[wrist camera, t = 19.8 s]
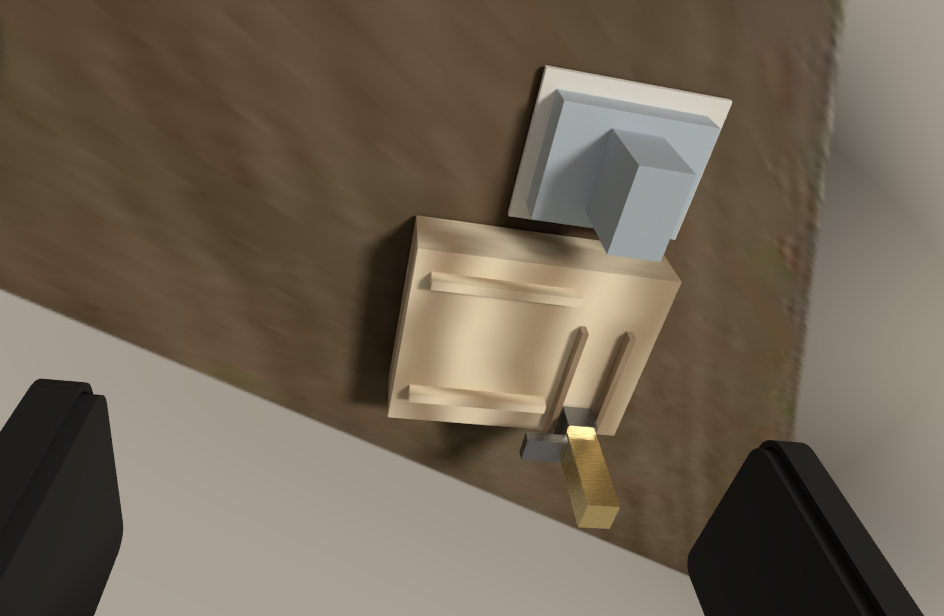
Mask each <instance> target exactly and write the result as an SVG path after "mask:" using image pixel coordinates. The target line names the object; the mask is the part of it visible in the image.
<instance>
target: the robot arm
mask: <svg viewBox="0 0 944 616" xmlns="http://www.w3.org/2000/svg"><path fill="white" fill-rule="evenodd" d="M122 535H123V520H122V513H121V505H120V497H119V490H118V483H117V475H116V468H115V461H114V453H113V446H112V438H111V430H110V423H109V415H108V408H107V401H106V398H105V397H104V395H94V394H93V392H92V388H91V386H90V384H89V383H85V382H74V381H63V380H50V379H38V380H36V381H35V382H34V383H33V384H32V385H31V386H30V388H29V389H28V391H27V392H26V394H25V395H24V397H23V398H22V400H21V401H20V403H19V404H18V406H17V407H16V409H15V410H14V412H13V413H12V415H11V417H10V418H9V419H8V421H7V422H6V424H5V425H4V427H3V428H2V430H1V431H0V616H94V614H95V612H96V609H97V606H98V604H99V601H100V599H101V596H102V594H103V591H104V588H105V586H106V583H107V580H108V578H109V575H110V573H111V570H112V568H113V565H114V562H115V560H116V557H117V555H118V552H119V549H120V545H121V541H122ZM687 566H688V573H689V576H690V579H691V581H692V584H693V587H694V589H695V592H696V594H697V597H698V599H699V602H700V605H701V607H702V610H703V612H704V615H705V616H924V615H923V614H922V612H921V611H920V609H919V608H918V606H917V605H916V603H915V602H914V600H913V599H912V597H911V596H910V594H909V593H908V591H907V590H906V588H905V587H904V585H903V584H902V582H901V581H900V579H899V578H898V576H897V575H896V573H895V572H894V570H893V569H892V568H891V566H890V564H889V563H888V561H887V560H886V559H885V557H884V555H883V554H882V553H881V551H880V550H879V548H878V547H877V545H876V544H875V542H874V541H873V539H872V538H871V536H870V535H869V533H868V532H867V530H866V529H865V527H864V526H863V524H862V523H861V521H860V520H859V518H858V517H857V515H856V514H855V512H854V511H853V509H852V508H851V506H850V505H849V503H848V502H847V500H846V499H845V497H844V496H843V494H842V493H841V491H840V490H839V488H838V487H837V485H836V484H835V483H834V481H833V479H832V478H831V477H830V475H829V474H828V472H827V471H826V469H825V468H824V466H823V465H822V463H821V462H820V460H819V459H818V457H817V456H816V454H815V453H814V452H813V450H812V449H811V448H810V447H809V446H808V445H806V444H804V443H798V442H787V441H775V440H767V441H765V442H763V443H762V444H761V445H760V446H759V447H758V449H757V448H756V449H754V450H752V451H751V452H750V454H749V455H748V457H747V458H746V460H745V462H744V463H743V465H742V467H741V468H740V470H739V472H738V473H737V475H736V477H735V478H734V480H733V481H732V483H731V485H730V486H729V488H728V490H727V491H726V493H725V495H724V496H723V498H722V500H721V501H720V503H719V505H718V506H717V508H716V509H715V511H714V513H713V514H712V516H711V518H710V519H709V521H708V523H707V524H706V526H705V528H704V529H703V531H702V533H701V534H700V536H699V537H698V539H697V541H696V542H695V544H694V546H693V547H692V549H691V551H690V553H689V555H688V565H687Z"/></svg>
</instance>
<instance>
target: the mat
mask: <svg viewBox="0 0 944 616" xmlns="http://www.w3.org/2000/svg"><path fill="white" fill-rule="evenodd" d="M557 89H561V90H567V91H572V92H578V93H583V94H589V95H594V96H600V97H605V98H611V99H616V100H622V101H627V102H633V103H638V104H644V105H649V106H655V107H660V108H666V109H671V110H677V111H682V112H688V113H693V114H699V115H704V116H708V117H709V118H710V119H711V120H712V121H713V122H714V123H715V124H716V125H717V126H719V127H720V128H722V126H723V123H724V121H725V119H726V116H727V114H728V111H729V109H730V107H731V104H732V101H731V100H730V99H725V98H719V97H714V96H709V95H703V94H698V93H692V92H687V91H682V90H676V89H671V88H666V87H660V86H655V85H649V84H644V83H639V82H633V81H628V80H623V79H617V78H612V77H606V76H601V75H596V74H590V73H585V72H580V71H574V70H569V69H563V68H558V67H553V66H547V65H545V69H544V72H543V76H542V80H541V84H540V88H539V92H538V96H537V100H536V104H535V108H534V112H533V116H532V120H531V124H530V128H529V131H528V135H527V139H526V143H525V147H524V151H523V155H522V159H521V163H520V167H519V171H518V175H517V179H516V183H515V187H514V191H513V194H512V198H511V202H510V206H509V210H508V216H511V217H518V218H525V219H531V217H530V214H529V211H528V208H527V205H526V202H527V198H528V194H529V191H530V187H531V183H532V180H533V176H534V172H535V168H536V165H537V161H538V157H539V154H540V150H541V146H542V143H543V139H544V135H545V131H546V128H547V124H548V120H549V117H550V113H551V109H552V106H553V102H554V98H555V95H556V91H557ZM720 131H721V129H720ZM719 133H720V132H719ZM718 135H719V134H718ZM717 138H718V136H717ZM716 140H717V139H716ZM715 143H716V141H715ZM714 145H715V144H714ZM713 147H714V146H713ZM712 150H713V148H712ZM711 152H712V151H711ZM710 155H711V153H710ZM709 157H710V156H709ZM708 159H709V158H708ZM707 162H708V160H707ZM706 164H707V163H706ZM705 167H706V165H705ZM704 169H705V168H704ZM703 171H704V170H703ZM702 174H703V172H702ZM701 176H702V175H701ZM700 179H701V177H700ZM700 179H699V181H700ZM698 183H699V182H698ZM697 186H698V184H697ZM696 188H697V187H696ZM695 191H696V189H695ZM695 191H694V193H695ZM693 195H694V194H693ZM692 198H693V196H692ZM691 200H692V199H691ZM690 203H691V201H690ZM690 203H689V205H690ZM688 207H689V206H688ZM687 210H688V208H687ZM686 212H687V211H686ZM685 215H686V213H685ZM685 215H684V217H685ZM683 219H684V218H683ZM532 220H535V219H532ZM539 221H541V220H539ZM546 222H548V221H546ZM682 222H683V220H682ZM553 223H555V222H553ZM560 224H562V223H560ZM681 224H682V223H681ZM567 225H569V224H567ZM574 226H576V225H574ZM581 227H583V226H581ZM680 227H681V225H680ZM680 227H679V229H680ZM589 228H590V227H589ZM678 231H679V230H678ZM677 234H678V232H677ZM677 234H676V236H677ZM675 239H676V237H675ZM675 239H673V240H675Z"/></svg>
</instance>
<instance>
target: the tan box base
mask: <svg viewBox="0 0 944 616" xmlns="http://www.w3.org/2000/svg"><path fill="white" fill-rule="evenodd" d="M680 284H681V281H680V279H679V278H678V276H677V275H676V273H675V272H674V270H673V268H672V267H671V265H670V264H669V262H668V260H667V259H666V257H665V256H664V255H663V257H662V260H661V262H656V261H649V260H641V259H634V258H627V257H619V256H612V255H607V254H606V252H605V250H604V248H603V246H602V244H601V242H600V241H598V240H591V239H584V238H577V237H569V236H562V235H555V234H548V233H540V232H533V231H526V230H519V229H511V228H504V227H497V226H490V225H482V224H475V223H468V222H461V221H453V220H446V219H439V218H432V217H424V216H417V215H416V220H415V226H414V232H413V238H412V244H411V250H410V255H409V261H408V267H407V273H406V279H405V285H404V290H403V296H402V302H401V308H400V314H399V320H398V326H397V331H396V337H395V343H394V349H393V355H392V361H391V366H390V372H389V384H388V417H394V418H406V419H418V420H431V421H443V422H455V423H467V424H480V425H492V426H504V427H516V428H529V429H541V430H543V432H544V434H552V433H553V431H555V428H556V425H557V423H558V420H559V417H560V415H561V412H562V409H563V406H564V407H575V408H586V409H592V412H593V415H594V418H595V421H596V424H597V427H598V429H597V431H596V434H602V435H614V434H615V432H616V430H617V428H618V425H619V423H620V421H621V418H622V416H623V414H624V412H625V409H626V407H627V405H628V402H629V400H630V398H631V396H632V393H633V391H634V389H635V387H636V384H637V382H638V380H639V377H640V375H641V373H642V371H643V368H644V366H645V364H646V362H647V359H648V357H649V355H650V352H651V350H652V348H653V346H654V343H655V341H656V339H657V337H658V334H659V332H660V330H661V327H662V325H663V323H664V321H665V318H666V316H667V314H668V312H669V309H670V307H671V305H672V302H673V300H674V298H675V296H676V293H677V291H678V289H679V287H680Z"/></svg>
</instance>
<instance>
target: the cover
mask: <svg viewBox="0 0 944 616" xmlns="http://www.w3.org/2000/svg"><path fill="white" fill-rule="evenodd" d="M720 129H721V128H720V127H719V126H717V125H716V124H715V123H714V122H713V121H712V120H711V119H710V118H709V117H708V116H704V115H699V114H693V113H688V112H682V111H677V110H671V109H666V108H660V107H655V106H649V105H644V104H638V103H633V102H627V101H622V100H616V99H611V98H605V97H600V96H594V95H589V94H583V93H578V92H572V91H567V90H561V89H557V91H556V95H555V98H554V102H553V106H552V109H551V113H550V117H549V120H548V124H547V128H546V131H545V135H544V139H543V143H542V146H541V150H540V154H539V157H538V161H537V165H536V168H535V172H534V176H533V180H532V183H531V187H530V191H529V194H528V198H527V202H526V205H527V208H528V211H529V214H530V217H531V219H535V220H541V221H548V222H555V223H562V224H569V225H576V226H583V227H590V228H594V230H595V232H596V234H597V236H598V238H599V240H600V242H601V244H602V246H603V248H604V250H605V252H606V254H607V255H612V256H619V257H627V258H634V259H641V260H649V261H656V262H661V260H662V257H663V255H664V252H665V250H666V247H667V245H668V243H669V240H670V239H675V237H676V234H677V232H678V230H679V227H680V225H681V223H682V220H683V218H684V215H685V213H686V211H687V208H688V206H689V203H690V201H691V199H692V196H693V194H694V191H695V189H696V187H697V184H698V182H699V179H700V177H701V175H702V172H703V170H704V168H705V165H706V163H707V160H708V158H709V156H710V153H711V151H712V148H713V146H714V144H715V141H716V139H717V136H718V134H719V132H720Z"/></svg>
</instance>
